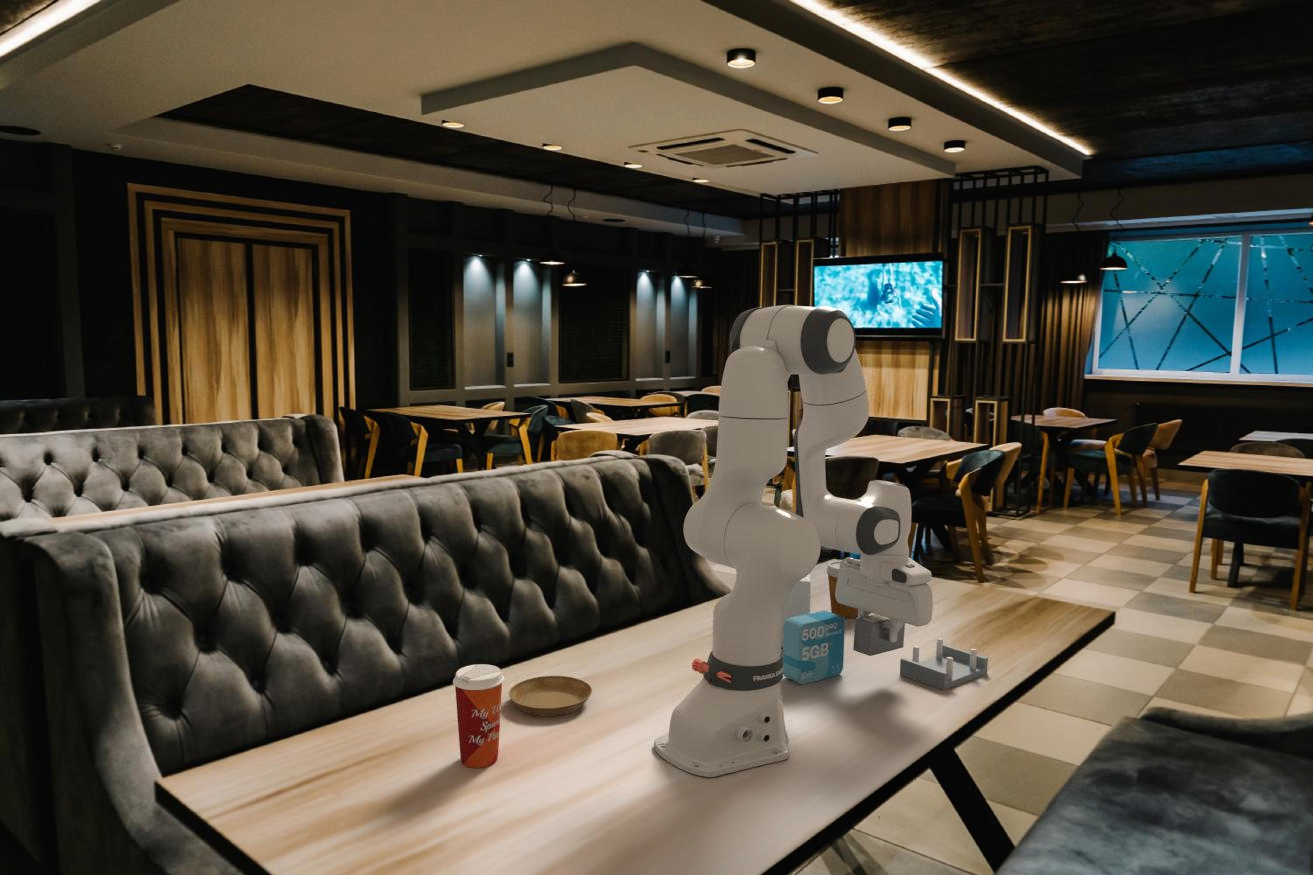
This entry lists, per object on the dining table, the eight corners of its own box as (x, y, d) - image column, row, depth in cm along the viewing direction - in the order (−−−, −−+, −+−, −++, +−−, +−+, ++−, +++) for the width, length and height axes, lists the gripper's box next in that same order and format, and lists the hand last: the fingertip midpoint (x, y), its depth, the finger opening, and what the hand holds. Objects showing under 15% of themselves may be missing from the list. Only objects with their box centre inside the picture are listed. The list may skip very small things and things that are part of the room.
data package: (797, 686, 167) (799, 624, 166) (781, 678, 171) (783, 618, 169) (843, 674, 173) (845, 615, 172) (827, 667, 177) (829, 609, 176)
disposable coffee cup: (868, 620, 208) (870, 570, 207) (828, 619, 208) (830, 570, 207) (860, 608, 217) (861, 561, 216) (821, 607, 217) (823, 560, 216)
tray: (944, 690, 166) (945, 663, 165) (899, 674, 174) (900, 648, 173) (987, 673, 175) (988, 647, 174) (943, 658, 182) (944, 634, 182)
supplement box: (809, 636, 196) (811, 570, 194) (809, 650, 187) (811, 581, 185) (768, 633, 197) (770, 568, 196) (766, 647, 188) (767, 578, 187)
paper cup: (480, 776, 130) (479, 685, 129) (443, 762, 134) (442, 674, 133) (515, 755, 137) (515, 668, 135) (479, 743, 141) (478, 659, 139)
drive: (870, 656, 163) (872, 623, 163) (853, 650, 166) (855, 618, 166) (903, 647, 169) (905, 616, 169) (886, 641, 172) (888, 611, 172)
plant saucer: (545, 729, 147) (545, 714, 147) (491, 704, 157) (491, 690, 157) (609, 704, 158) (609, 690, 157) (554, 682, 168) (554, 669, 167)
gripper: (830, 556, 173) (826, 625, 174) (919, 578, 157) (913, 654, 158) (851, 553, 177) (847, 621, 178) (939, 574, 161) (934, 649, 162)
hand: (879, 637), depth 167 cm, fingers closed on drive, 4 cm apart
